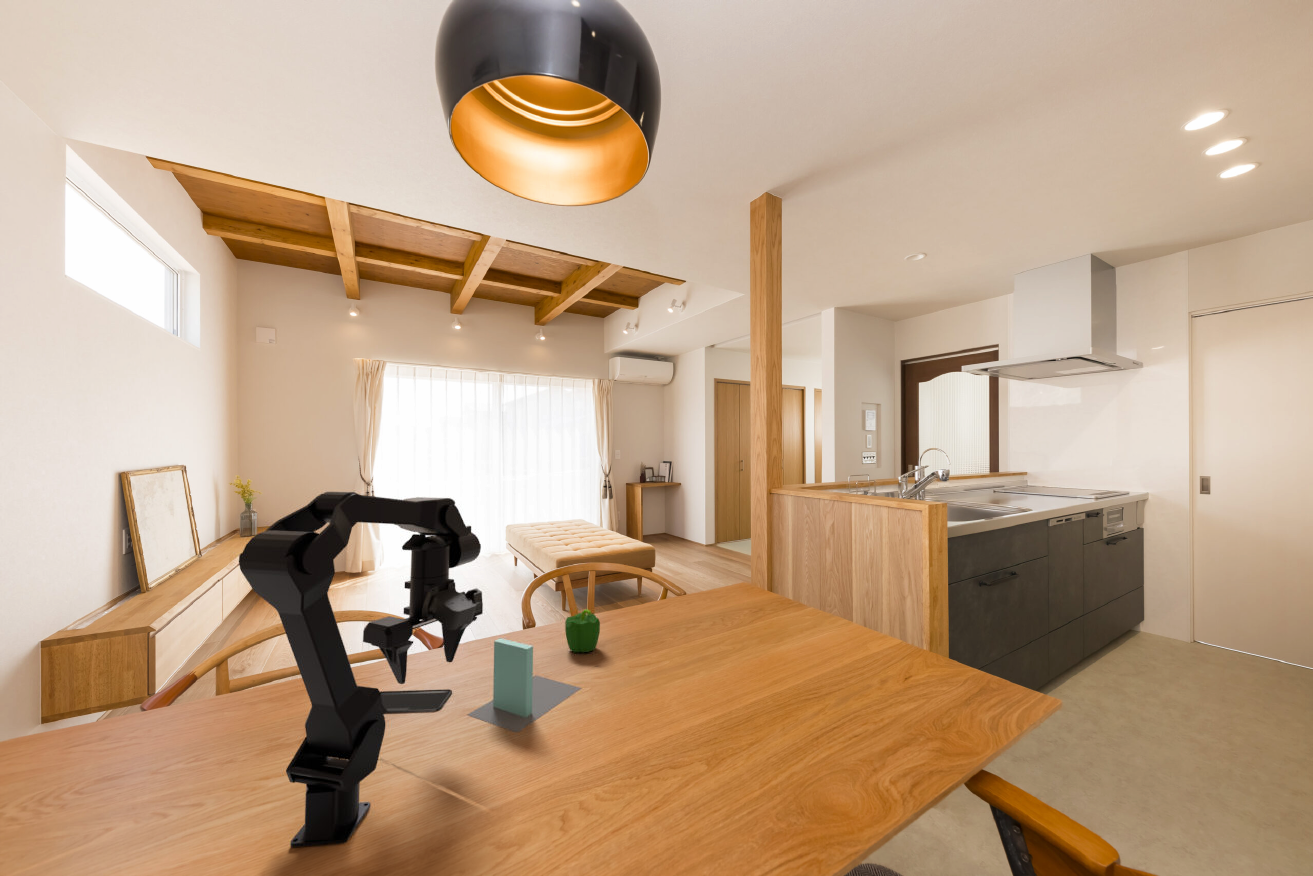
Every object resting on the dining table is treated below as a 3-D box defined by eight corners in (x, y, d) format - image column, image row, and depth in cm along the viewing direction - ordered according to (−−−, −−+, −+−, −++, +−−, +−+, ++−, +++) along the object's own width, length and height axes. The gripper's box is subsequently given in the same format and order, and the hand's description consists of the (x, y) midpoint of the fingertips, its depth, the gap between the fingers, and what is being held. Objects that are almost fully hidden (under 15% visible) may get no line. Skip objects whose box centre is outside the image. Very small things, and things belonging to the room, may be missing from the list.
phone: (374, 691, 96) (453, 689, 97) (374, 697, 96) (453, 694, 97) (353, 712, 88) (439, 709, 89) (352, 719, 88) (439, 716, 89)
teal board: (525, 717, 87) (526, 649, 87) (493, 706, 91) (494, 641, 91) (532, 713, 88) (533, 646, 89) (499, 703, 92) (500, 638, 93)
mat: (517, 734, 82) (517, 732, 82) (466, 717, 88) (466, 714, 88) (581, 690, 98) (581, 688, 98) (535, 677, 104) (535, 675, 104)
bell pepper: (561, 646, 121) (561, 605, 121) (593, 641, 124) (593, 601, 125) (570, 659, 113) (570, 615, 113) (604, 653, 117) (604, 611, 117)
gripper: (415, 593, 68) (411, 708, 68) (507, 568, 85) (505, 660, 84) (362, 584, 73) (358, 692, 72) (460, 562, 90) (457, 649, 89)
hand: (426, 672), depth 79 cm, fingers open, 9 cm apart
